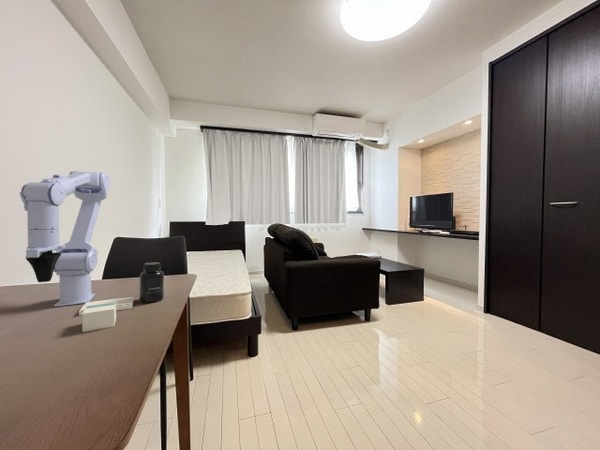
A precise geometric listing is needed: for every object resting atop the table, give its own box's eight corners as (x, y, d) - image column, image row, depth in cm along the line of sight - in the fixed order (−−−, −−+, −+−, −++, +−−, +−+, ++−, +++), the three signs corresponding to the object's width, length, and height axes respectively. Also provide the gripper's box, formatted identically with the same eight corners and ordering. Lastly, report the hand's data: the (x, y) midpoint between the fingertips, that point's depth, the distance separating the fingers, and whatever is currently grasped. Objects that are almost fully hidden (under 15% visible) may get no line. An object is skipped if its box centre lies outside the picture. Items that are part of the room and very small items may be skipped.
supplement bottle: (152, 304, 78) (152, 265, 78) (134, 302, 79) (134, 264, 79) (168, 297, 85) (168, 262, 84) (151, 296, 86) (151, 261, 86)
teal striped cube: (87, 323, 64) (86, 305, 64) (116, 318, 67) (116, 301, 67) (82, 332, 59) (82, 313, 59) (114, 327, 62) (114, 308, 62)
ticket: (86, 306, 75) (86, 302, 75) (134, 300, 81) (134, 296, 81) (78, 315, 68) (78, 310, 68) (131, 308, 74) (131, 304, 74)
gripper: (54, 230, 61) (55, 286, 61) (72, 227, 74) (73, 274, 74) (12, 230, 57) (13, 290, 58) (39, 228, 70) (39, 276, 70)
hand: (44, 281), depth 66 cm, fingers closed
